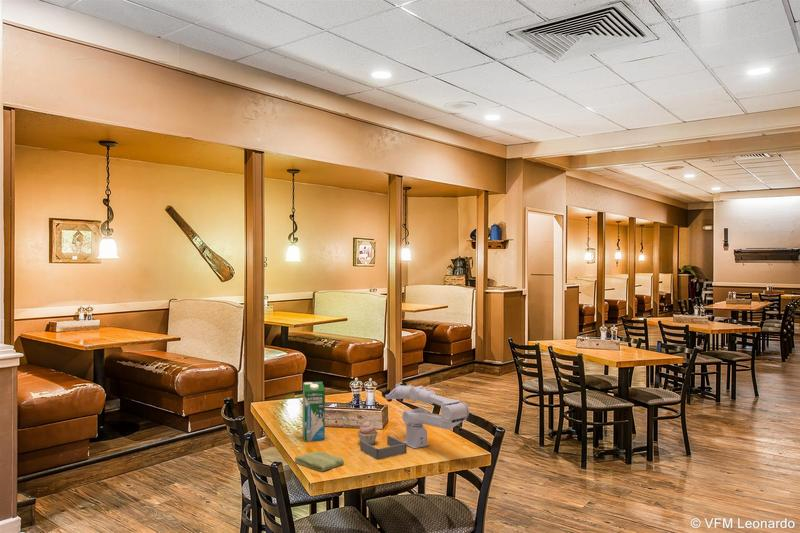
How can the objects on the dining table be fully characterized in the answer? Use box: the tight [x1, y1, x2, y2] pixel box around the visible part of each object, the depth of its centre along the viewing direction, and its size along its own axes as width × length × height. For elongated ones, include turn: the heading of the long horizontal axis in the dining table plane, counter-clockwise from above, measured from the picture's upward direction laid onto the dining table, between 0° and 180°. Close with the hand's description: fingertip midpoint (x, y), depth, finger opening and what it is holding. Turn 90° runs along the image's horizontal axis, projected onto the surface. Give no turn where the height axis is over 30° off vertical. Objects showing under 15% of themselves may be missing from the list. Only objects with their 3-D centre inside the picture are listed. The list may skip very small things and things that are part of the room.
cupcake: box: [357, 420, 379, 446], centre depth 254 cm, size 9×9×10 cm
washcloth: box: [294, 450, 345, 473], centre depth 229 cm, size 13×18×3 cm
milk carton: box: [302, 381, 326, 442], centre depth 261 cm, size 9×9×25 cm
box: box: [359, 434, 408, 460], centre depth 244 cm, size 14×15×4 cm
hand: (388, 391), depth 270 cm, fingers open, 7 cm apart
